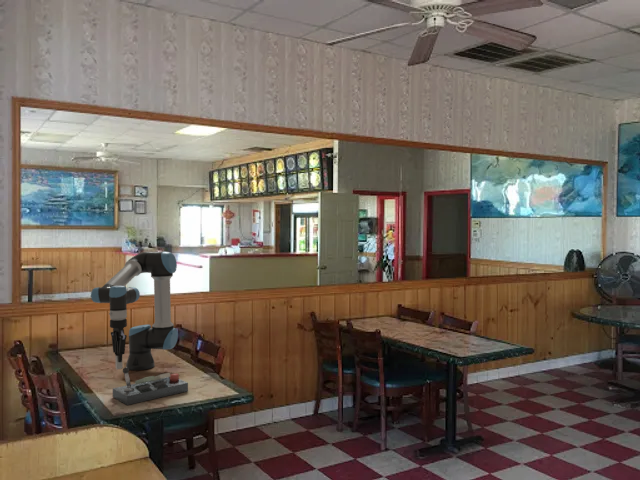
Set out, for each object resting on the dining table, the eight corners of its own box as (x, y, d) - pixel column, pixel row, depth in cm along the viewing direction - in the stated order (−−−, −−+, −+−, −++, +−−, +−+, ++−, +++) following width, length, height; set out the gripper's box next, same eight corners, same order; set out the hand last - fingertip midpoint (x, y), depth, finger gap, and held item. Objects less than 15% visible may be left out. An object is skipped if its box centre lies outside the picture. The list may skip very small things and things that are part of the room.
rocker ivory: (151, 381, 268) (150, 377, 268) (161, 379, 271) (160, 375, 272) (160, 378, 261) (159, 374, 261) (170, 376, 264) (169, 372, 265)
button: (167, 380, 271) (167, 374, 271) (176, 378, 274) (176, 372, 274) (172, 382, 268) (172, 376, 268) (180, 380, 271) (180, 374, 271)
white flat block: (135, 384, 263) (134, 380, 263) (145, 382, 266) (145, 378, 266) (144, 381, 256) (143, 377, 256) (154, 379, 259) (153, 375, 259)
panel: (112, 396, 259) (112, 386, 259) (172, 383, 279) (171, 374, 279) (127, 405, 247) (126, 394, 247) (188, 391, 267) (187, 381, 267)
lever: (125, 389, 256) (121, 368, 259) (131, 388, 258) (127, 367, 261) (127, 388, 254) (123, 367, 257) (133, 387, 256) (129, 366, 259)
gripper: (105, 318, 265) (105, 367, 266) (116, 321, 256) (116, 372, 256) (120, 316, 271) (121, 364, 271) (131, 319, 261) (132, 369, 262)
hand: (119, 368), depth 264 cm, fingers closed
